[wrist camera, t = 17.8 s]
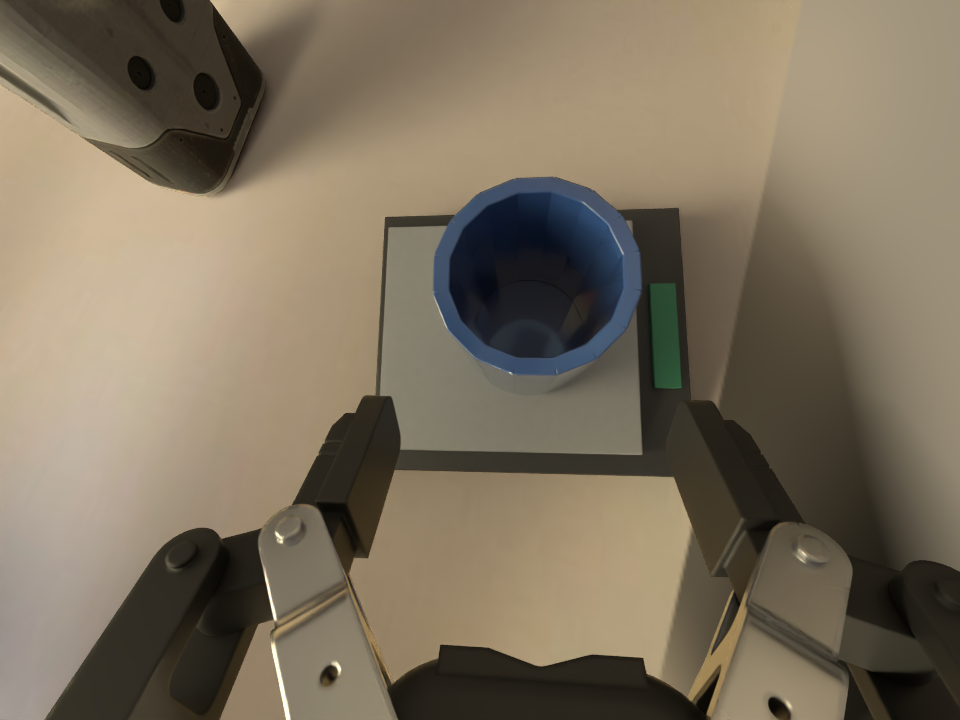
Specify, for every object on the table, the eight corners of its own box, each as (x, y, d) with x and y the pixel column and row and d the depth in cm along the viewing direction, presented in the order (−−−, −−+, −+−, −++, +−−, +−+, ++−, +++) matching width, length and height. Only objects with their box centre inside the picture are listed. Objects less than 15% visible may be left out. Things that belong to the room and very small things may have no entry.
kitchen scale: (663, 228, 23) (685, 198, 20) (677, 472, 21) (704, 480, 18) (396, 235, 24) (379, 208, 21) (385, 465, 22) (365, 471, 19)
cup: (589, 273, 20) (637, 172, 12) (592, 396, 19) (646, 375, 11) (468, 275, 20) (435, 180, 12) (465, 395, 19) (429, 374, 11)
